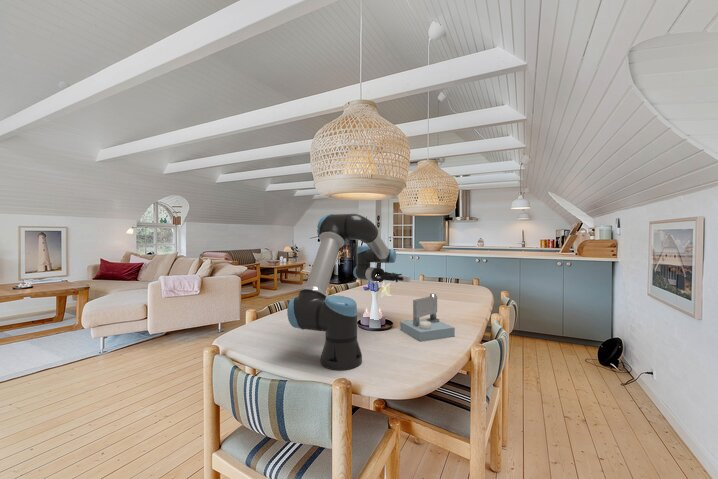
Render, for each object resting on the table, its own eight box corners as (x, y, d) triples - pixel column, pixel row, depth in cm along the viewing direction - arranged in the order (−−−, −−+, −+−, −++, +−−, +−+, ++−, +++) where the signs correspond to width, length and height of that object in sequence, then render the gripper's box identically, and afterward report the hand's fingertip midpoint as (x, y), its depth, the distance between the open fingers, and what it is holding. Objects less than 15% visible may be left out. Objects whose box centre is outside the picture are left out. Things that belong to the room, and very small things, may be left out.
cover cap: (432, 329, 138) (432, 323, 138) (422, 329, 137) (422, 324, 137) (427, 325, 143) (427, 320, 143) (417, 326, 142) (417, 321, 142)
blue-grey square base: (455, 336, 140) (455, 326, 140) (420, 341, 134) (420, 330, 134) (432, 325, 157) (432, 316, 157) (400, 329, 150) (400, 320, 150)
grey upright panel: (412, 324, 143) (412, 297, 143) (432, 318, 154) (432, 293, 154) (417, 326, 141) (417, 298, 141) (438, 319, 152) (438, 294, 151)
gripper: (384, 280, 173) (417, 285, 155) (366, 282, 165) (400, 288, 147) (384, 266, 173) (417, 270, 155) (366, 268, 164) (400, 272, 147)
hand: (409, 279), depth 151 cm, fingers closed
